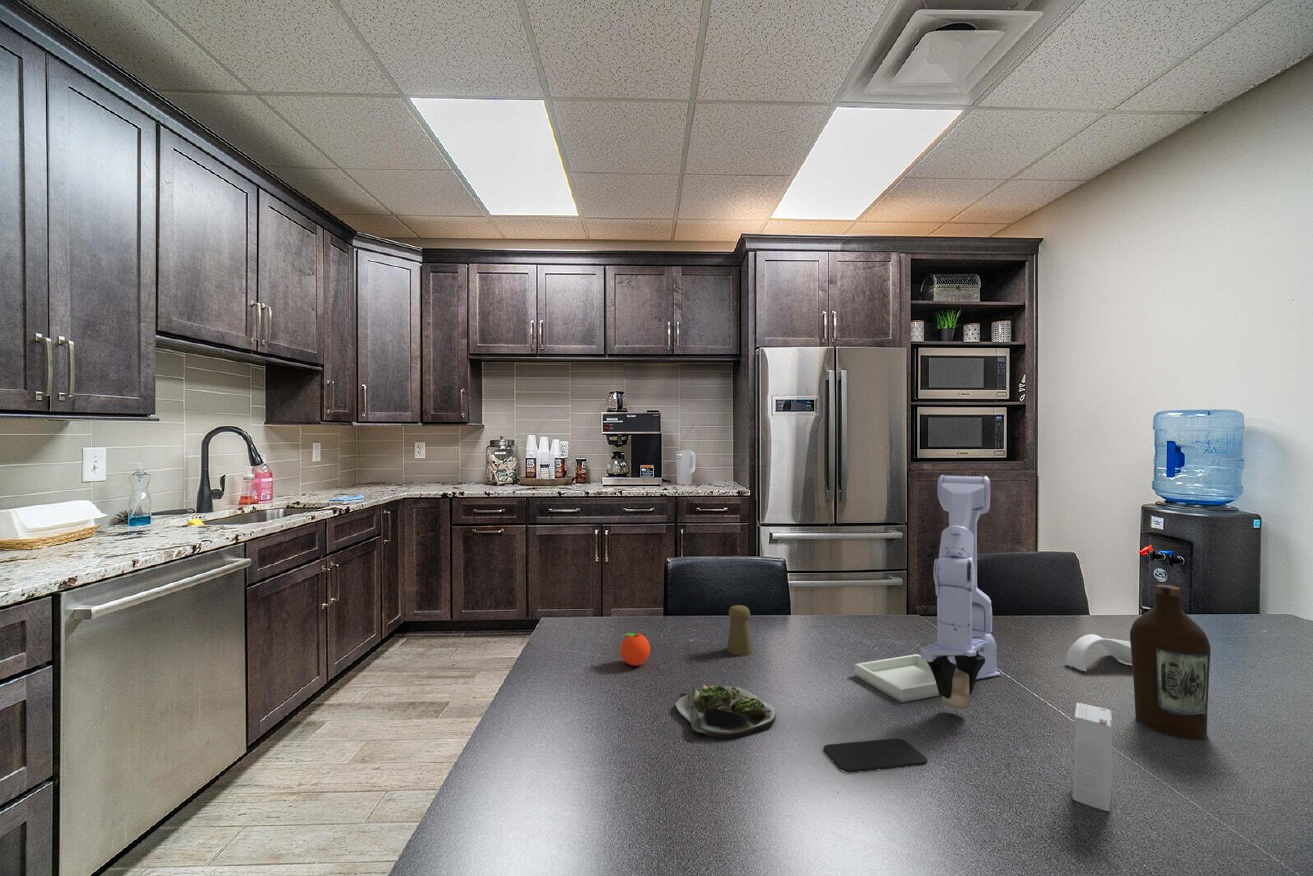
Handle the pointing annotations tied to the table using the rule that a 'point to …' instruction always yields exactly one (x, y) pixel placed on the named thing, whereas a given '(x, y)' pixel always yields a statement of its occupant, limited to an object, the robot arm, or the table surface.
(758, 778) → the table surface
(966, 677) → the beige rounded cylinder
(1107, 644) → the white curved arch piece
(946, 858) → the table surface
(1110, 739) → the skincare box
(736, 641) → the cork
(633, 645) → the clementine
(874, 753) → the phone
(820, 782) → the table surface
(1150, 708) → the brown liquor bottle
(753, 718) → the salad plate
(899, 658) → the tray
